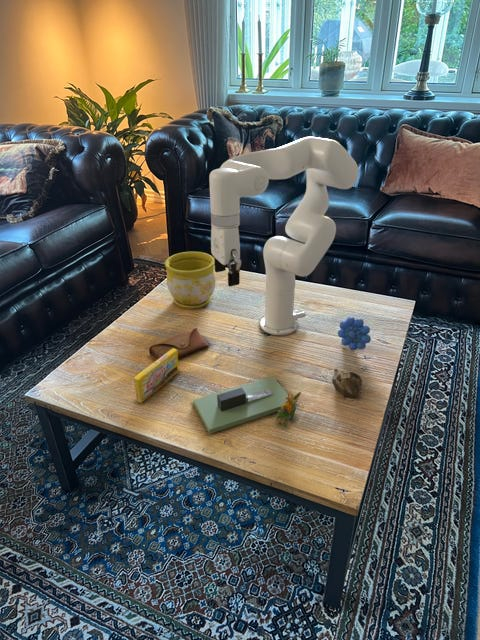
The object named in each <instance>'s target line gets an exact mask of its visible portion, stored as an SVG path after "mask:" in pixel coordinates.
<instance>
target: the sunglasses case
mask: <svg viewBox="0 0 480 640" xmlns="http://www.w3.org/2000/svg"><path fill="white" fill-rule="evenodd" d="M210 346H211V345H210V343H209V342H207V341H206V339H205V338H204V337H203V335H202V334H201V333H200V331H199V330H198V327H195V328H193V329H191V330H189V331H185V332H183V333H180V334H178V335H176V336H173V337H171V338H168V339H166V340H163V341H161V342H159V343H156V344H153V345H151V346H150V347H149V349H148V352H149V355H150V357H151V358H152V359H153V360H154V362H155V361H157V360H158V359H159V358H161V357H162V356H163V355H164V354H166V353H167V352H168V351H170V350H171V349H173V348H174V349H176V350H177V352H178V360H179V359H181V358H184V357H187V356H188V355H192V354H193V353H196V352H198V351H200V350H203V349H204V348H208V347H210Z"/></svg>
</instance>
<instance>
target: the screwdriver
mask: <svg viewBox="0 0 480 640" xmlns="http://www.w3.org/2000/svg"><path fill="white" fill-rule="evenodd" d="M271 394H272V392H271V391H270V390H263V391H260V392H257V393H253V394H250V395H246V393H245V392H244V390H243V389H242V388H239V389H235V390H232V391H229V392H225V393H222V394H219V395H217V403H218V407H219V409H220V410H221V411H225V410H228V409H231V408H234V407H237V406H241V405H244V404H246V403H249V402H252V401H256V400H259V399H262V398H265V397H268V396H271Z"/></svg>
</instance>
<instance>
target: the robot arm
mask: <svg viewBox="0 0 480 640" xmlns="http://www.w3.org/2000/svg"><path fill="white" fill-rule="evenodd" d="M302 172H305V176H306V177H305V179H306V188H305V193H304V195H303V197H302V199H301V201H300V202H299V204H298V205H297V206H296V208H295V209H294V210H293V212H292V214H291V215H290V217H289V218H288V220H287V222H286V224H285V226H284V227H285V228H284V230H285V234H286V235H287V236H288V237H289V238H288V237H286V236H281V235H275V236H272V237H269V239H267V241H266V242H265V243H264V247H263V251H262V256H263V262H264V268H265V295H264V297H265V298H264V316H263V317H262V318H261V319H260V322H259V326H260V328H261V330H262V331H264V332H265V333H267V334H269V335H272V336H273V335H274V336H285V335H286V336H287V335H289V334H292V333H293V332H295V331H296V330H297V328H298V322H297V320H298V319H302V318H303V319H304V318H306V311H301V312H299V310H298V309H294V307H295V292H296V291H295V290H296V276H297V277H307V276H309V275H311V274H312V273H313V272H314V270H315V269H316V267H317V266H318V265H319V263H320V262H321V260H322V259H323V257H324V256H325V254H326V253H327V252H328V250H329V248H330V247H331V245H332V244H333V241H334V240H335V237H336V233H337V226H336V222H335V221H334V220H333V219H332V218H330V217H329V216H327V215H325V214H326V213H327V211H328V210H329V207H330V197H329V192H328V189H327V188H328V187H332V188H335V189H340V190H349V189H351V188H352V187H354V186H355V185H356V184H357V182H358V179H359V175H360V174H359V166H358V164H357V162H356V160H355V159H354V158H353V157H352V156H351V154H350V153H349V152H348V151H347V149H346V148H345V147H344V146H343V145H342V144H340V142H338V141H337V140H335V139H329V138H324V137H323V138H322V137H316V136H305V137H302V138H299V139H297V140H295V141H292V142H289V143H287V144H284V145H282V146H279V147H276V148H269V149H264V150H258V151H252V152H251V151H250V152H246V153H242V154H239V155H236V156H234V157H231V158H229V159H227V160H226V161H224V162H223V163H222V164H221V166H220V167H219V168H216V169H213V170H212V171H210V173H209V177H208V178H209V179H208V181H209V202H210V224H211V230H210V250H211V251H210V252H211V256H212V257H213V258H214V263H215V265H214V272H215V273H220V272H225V271H226V270H227V269H228V272H227V285H228V287H235V286H239V285H240V283H241V282H240V280H241V279H240V277H241V276H240V272H241V269H242V268H241V267H242V260H241V243H240V231H239V226H240V225H241V211H240V210H241V205H240V202H241V200H240V199H241V198H247V197H256V196H259V195H261V194H262V193H264V192H265V191H266V190H267V188H268V186H269V183H270V181H269V180H287V179H290V178H292V177H295V176H296V175H298V174H301V173H302ZM327 186H328V187H327ZM232 265H233V266H232ZM226 266H227V267H226Z"/></svg>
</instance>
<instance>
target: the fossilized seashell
mask: <svg viewBox="0 0 480 640" xmlns="http://www.w3.org/2000/svg"><path fill="white" fill-rule="evenodd" d="M333 372H334V373H333V376H332V379H331V383H332V385H333V387H334V389H335V390H336V391H337V392H338V393H339V394H341V395H343V396H346V397H351V398H357V397H359V395H360V394H361V391H362V385H363V380H362V378H361V376H360V375H359V374H358V373H356V372H354V371H350V370H347V371H343V370H338V368H334V370H333Z"/></svg>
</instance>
